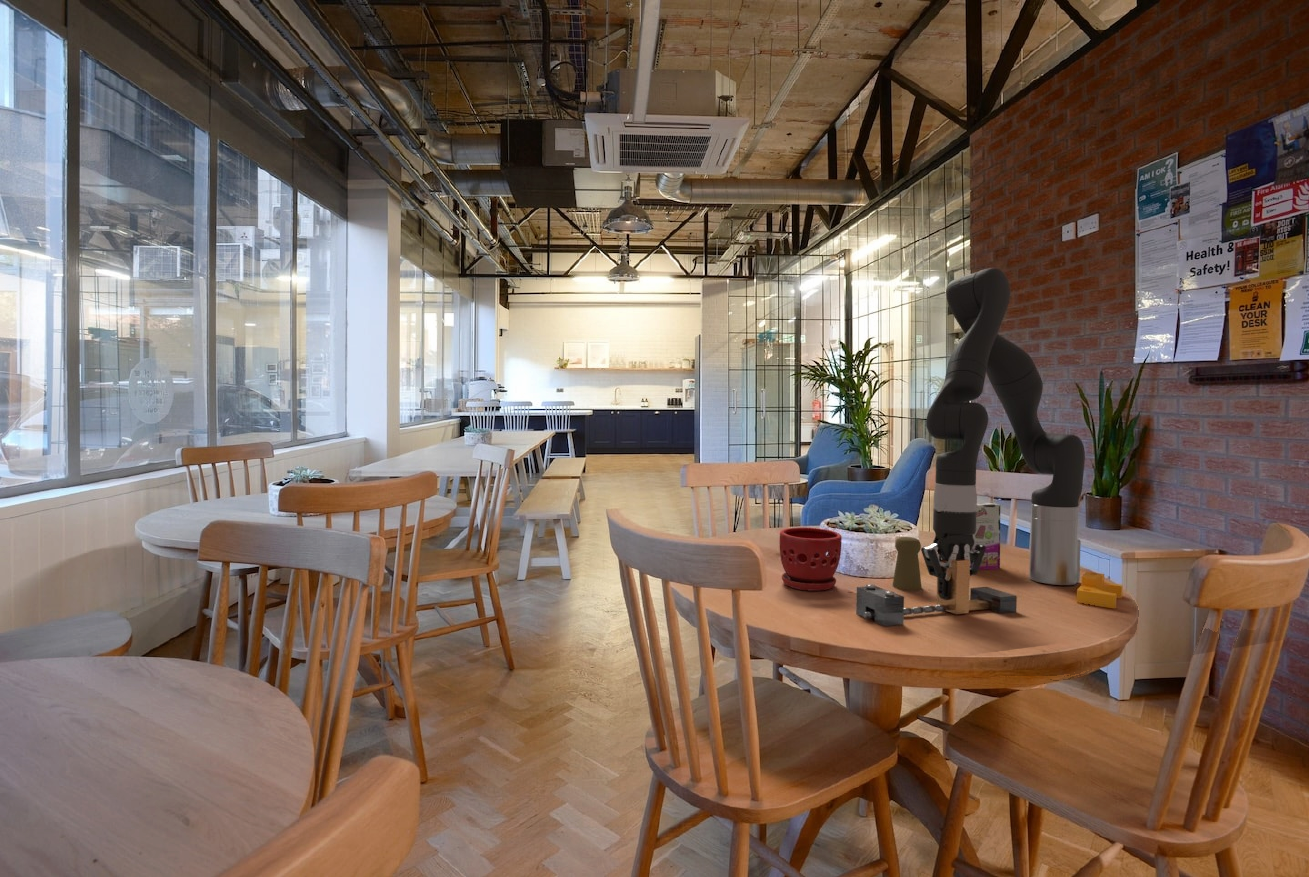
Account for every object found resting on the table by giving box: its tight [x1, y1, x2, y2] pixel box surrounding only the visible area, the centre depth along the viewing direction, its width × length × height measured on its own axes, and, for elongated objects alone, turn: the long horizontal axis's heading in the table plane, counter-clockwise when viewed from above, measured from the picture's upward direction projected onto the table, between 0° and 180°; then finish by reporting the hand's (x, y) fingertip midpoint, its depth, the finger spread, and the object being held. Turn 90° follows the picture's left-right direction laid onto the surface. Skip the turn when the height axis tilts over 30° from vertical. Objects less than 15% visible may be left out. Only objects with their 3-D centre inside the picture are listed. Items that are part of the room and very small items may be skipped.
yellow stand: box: [1076, 571, 1123, 609], centre depth 140 cm, size 12×4×6 cm
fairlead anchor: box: [855, 583, 905, 627], centre depth 124 cm, size 4×8×6 cm, turn 19°
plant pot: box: [779, 526, 842, 592], centre depth 148 cm, size 13×13×12 cm
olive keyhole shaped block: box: [892, 536, 923, 592], centre depth 148 cm, size 6×6×11 cm
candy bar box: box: [971, 502, 1001, 570], centre depth 167 cm, size 11×5×16 cm, turn 102°
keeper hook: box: [969, 586, 1018, 614], centre depth 133 cm, size 4×7×3 cm, turn 19°
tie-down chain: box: [863, 559, 992, 620], centre depth 128 cm, size 28×5×10 cm, turn 109°
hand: (952, 597), depth 130 cm, fingers closed on tie-down chain, 3 cm apart
